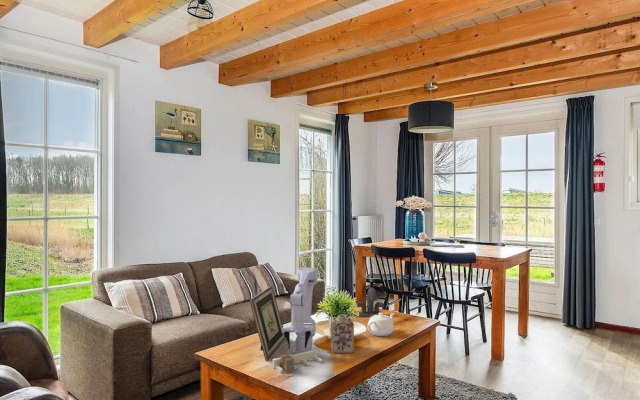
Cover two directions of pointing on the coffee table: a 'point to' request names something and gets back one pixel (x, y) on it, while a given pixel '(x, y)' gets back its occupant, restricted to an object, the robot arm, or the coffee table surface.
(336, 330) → the decorative jar
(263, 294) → the picture frame
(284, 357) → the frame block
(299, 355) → the cream pronged rack
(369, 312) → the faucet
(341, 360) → the coffee table surface
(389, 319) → the teapot
